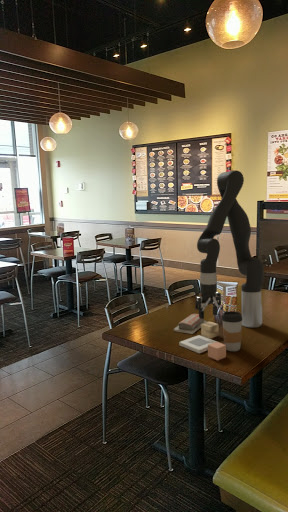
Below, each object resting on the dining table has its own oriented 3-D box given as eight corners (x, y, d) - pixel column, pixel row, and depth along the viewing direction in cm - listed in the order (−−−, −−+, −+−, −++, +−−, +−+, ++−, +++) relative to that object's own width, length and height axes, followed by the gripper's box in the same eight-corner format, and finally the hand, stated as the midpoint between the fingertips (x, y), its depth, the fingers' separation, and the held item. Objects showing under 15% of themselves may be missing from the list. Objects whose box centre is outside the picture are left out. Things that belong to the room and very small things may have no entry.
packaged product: (188, 311, 196) (206, 314, 191) (189, 320, 197) (207, 323, 192) (173, 322, 181) (192, 325, 176) (173, 332, 182) (192, 335, 176)
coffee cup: (219, 345, 161) (219, 311, 159) (238, 344, 162) (238, 310, 160) (225, 353, 153) (225, 317, 151) (245, 351, 154) (245, 316, 152)
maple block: (209, 332, 177) (209, 321, 177) (218, 335, 173) (218, 324, 172) (201, 335, 174) (201, 324, 173) (210, 338, 170) (209, 327, 169)
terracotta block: (216, 353, 154) (216, 341, 153) (226, 357, 150) (225, 345, 149) (208, 356, 151) (207, 344, 150) (217, 360, 147) (217, 348, 146)
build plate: (199, 338, 171) (199, 335, 171) (219, 345, 161) (219, 342, 161) (179, 345, 164) (179, 341, 164) (199, 353, 154) (199, 350, 154)
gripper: (203, 285, 163) (203, 322, 165) (225, 280, 171) (225, 315, 174) (191, 283, 169) (191, 318, 171) (213, 278, 177) (213, 311, 180)
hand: (208, 316), depth 172 cm, fingers open, 8 cm apart
